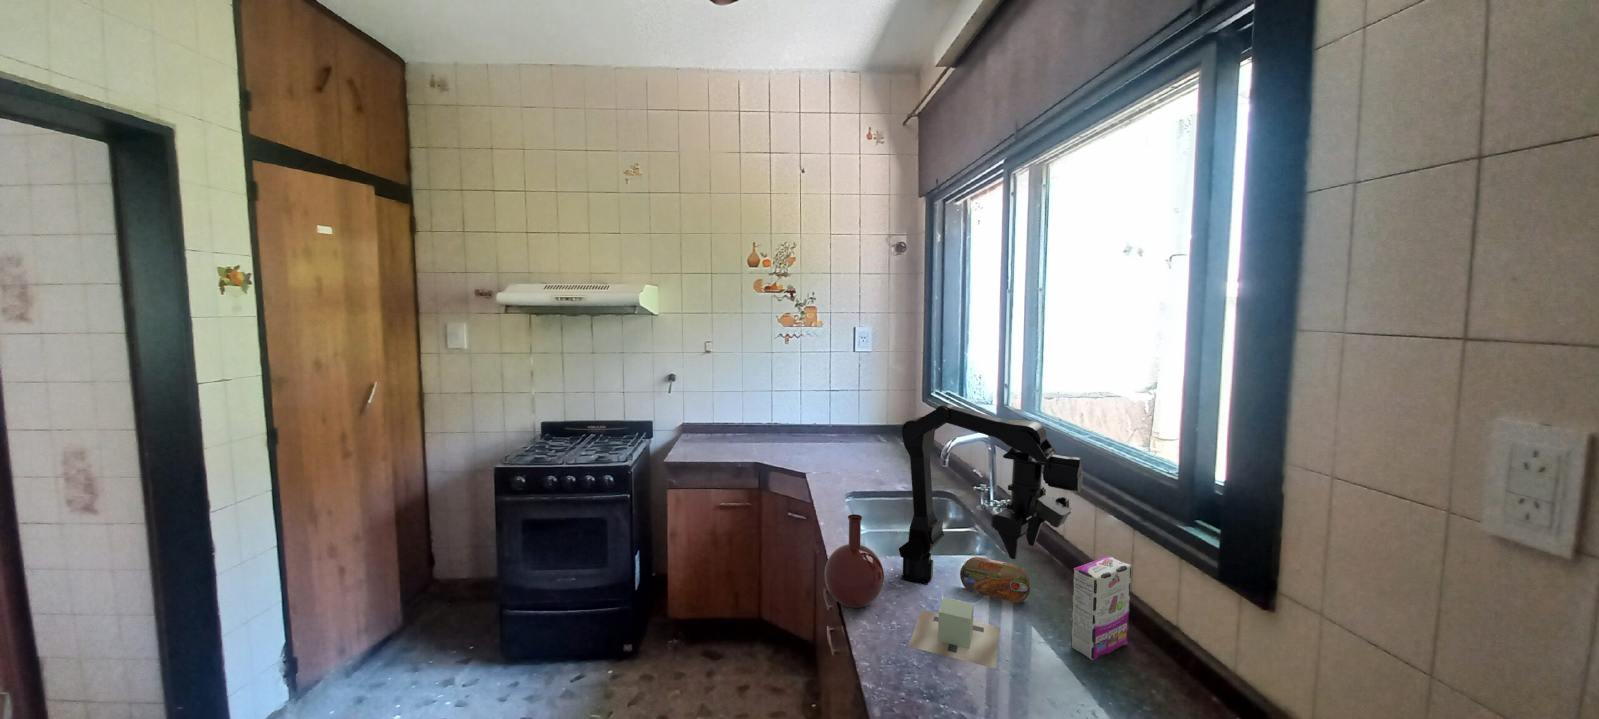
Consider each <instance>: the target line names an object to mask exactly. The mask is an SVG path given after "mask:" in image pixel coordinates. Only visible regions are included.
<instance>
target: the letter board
mask: <svg viewBox="0 0 1599 719" xmlns="http://www.w3.org/2000/svg"><path fill="white" fill-rule="evenodd" d="M938 616H939V612H936V611H932V610H931V611H930V610H926V609H923V608H922V609H921V611H920V614H919V616H918V619H917V621H916V623H915V627H914V630H913V632H912V635H911V638H910V640H909V643H908V647H910V648H914V649H918V650H922V651H925V652H930V653H933V654H937V655H940V656H945V657H949V658H953V659H956V660H960V661H964V662H968V663H972V664H975V665H980V666H984V667H987V668H991V669H997V661H998V650H999V641H1000V640H999V639H1000V631H1001V626H997V625H993V624H988V623H983V622H979V621H975V620H973V633H972V638H971V643H970V649H969V648H965V647H961V646H957V645H953V644H949V643H944V642H940V641H938Z"/></svg>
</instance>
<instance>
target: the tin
mask: <svg viewBox="0 0 1599 719" xmlns="http://www.w3.org/2000/svg"><path fill="white" fill-rule="evenodd" d="M959 572H960V573H959V578H960V581H961V584H962V585H963V587H964V588H965V590H967V592H969V593H974V594H975V593H976V594H979V595H983V596H988V597H992V598H996V599H1001V600H1004V601H1007V602H1013V603H1015V604H1020V603H1022V602H1024V601H1025V600H1026V599H1027V598H1028V597H1029V595H1030V590H1031V582H1030V578H1029V576H1028V574H1027V573H1026V570H1024V569H1023V568H1022V567H1020V566H1019V565H1017V564H1015V563H1010V562H1006V561H1001V560H995V559H990V558H986V557H980V556H974V557H971V558H969V559H967V560H966V561H965V563H964V564H963V565H962V566H961V568H960V570H959Z"/></svg>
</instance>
